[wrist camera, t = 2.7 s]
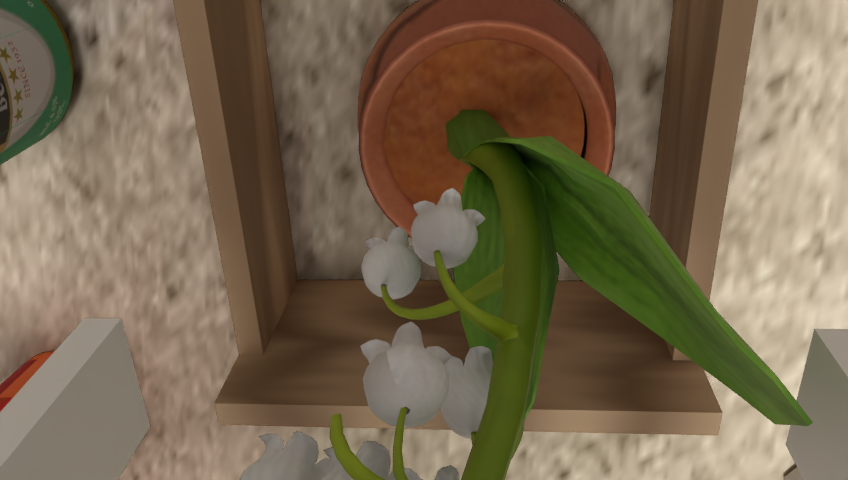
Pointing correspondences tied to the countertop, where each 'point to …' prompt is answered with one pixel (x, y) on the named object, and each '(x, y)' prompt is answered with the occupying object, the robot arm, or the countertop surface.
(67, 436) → the robot arm
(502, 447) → the potted flower
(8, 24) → the beverage can
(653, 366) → the frame
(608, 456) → the countertop surface
